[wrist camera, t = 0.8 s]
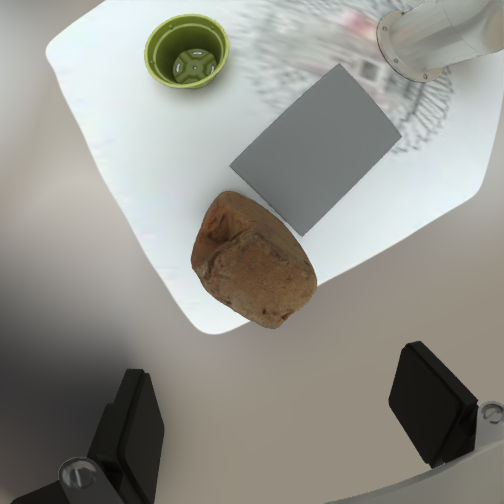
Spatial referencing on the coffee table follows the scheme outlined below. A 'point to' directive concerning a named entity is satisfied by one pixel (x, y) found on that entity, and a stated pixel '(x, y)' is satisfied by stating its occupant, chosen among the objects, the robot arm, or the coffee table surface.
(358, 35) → the coffee table surface
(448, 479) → the robot arm
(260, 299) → the block
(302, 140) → the mat
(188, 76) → the plant pot
